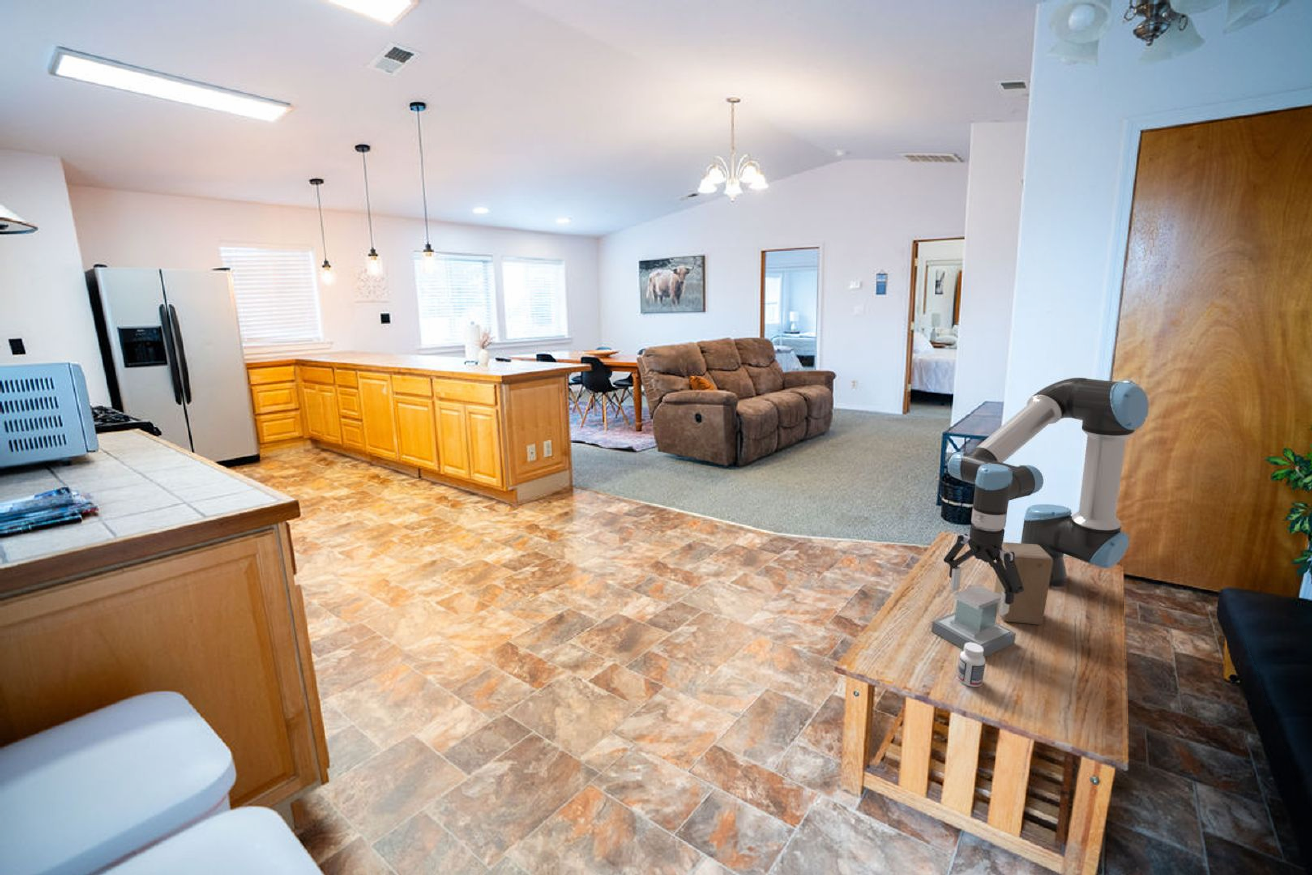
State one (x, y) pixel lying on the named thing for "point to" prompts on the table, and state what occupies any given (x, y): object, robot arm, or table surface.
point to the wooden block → (1028, 583)
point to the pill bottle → (971, 665)
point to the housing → (976, 611)
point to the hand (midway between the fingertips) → (978, 601)
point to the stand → (988, 641)
